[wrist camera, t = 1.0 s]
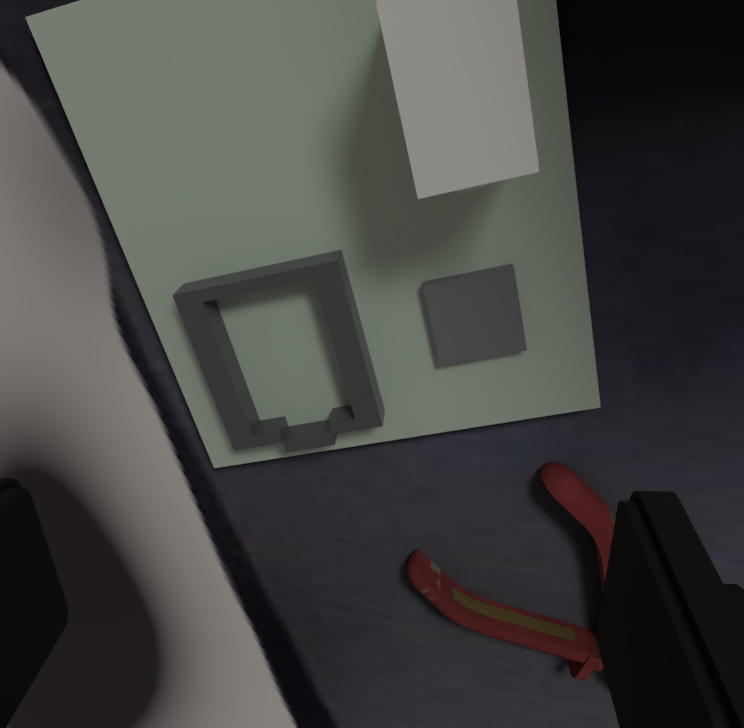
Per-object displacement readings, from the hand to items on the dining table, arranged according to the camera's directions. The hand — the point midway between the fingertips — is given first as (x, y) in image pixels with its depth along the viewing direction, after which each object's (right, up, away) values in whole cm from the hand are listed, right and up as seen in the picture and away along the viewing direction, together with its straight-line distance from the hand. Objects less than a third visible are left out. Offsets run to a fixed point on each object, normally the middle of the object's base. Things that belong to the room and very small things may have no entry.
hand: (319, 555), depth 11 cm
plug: (+4, +14, +15) cm, 21 cm away
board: (0, +9, +19) cm, 22 cm away
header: (-3, +4, +21) cm, 22 cm away
